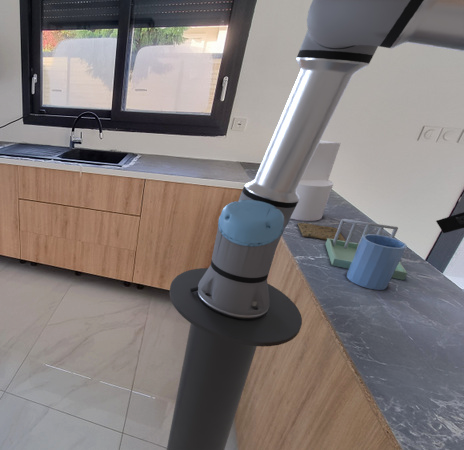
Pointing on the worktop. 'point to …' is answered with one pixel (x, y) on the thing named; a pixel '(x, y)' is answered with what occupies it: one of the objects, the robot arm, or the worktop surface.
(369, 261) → the tumbler
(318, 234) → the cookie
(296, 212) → the white rounded block
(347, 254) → the dish rack
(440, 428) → the worktop surface
